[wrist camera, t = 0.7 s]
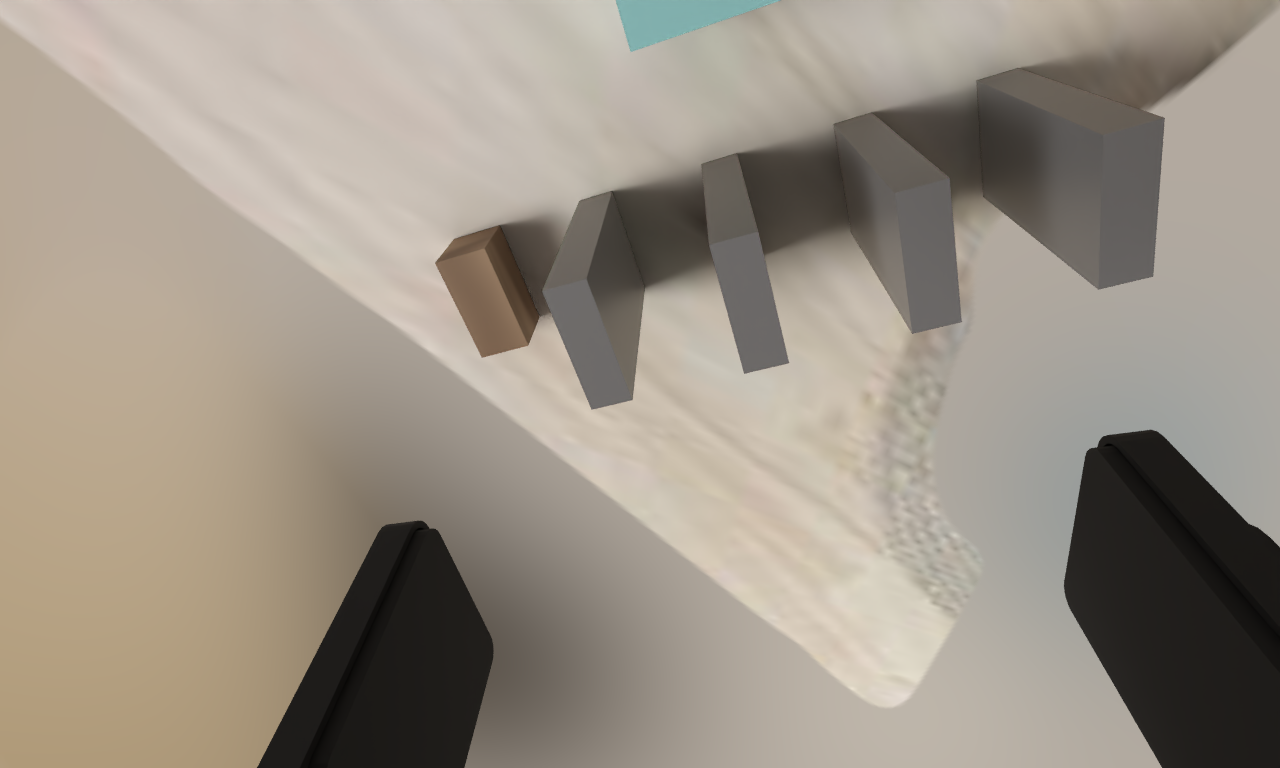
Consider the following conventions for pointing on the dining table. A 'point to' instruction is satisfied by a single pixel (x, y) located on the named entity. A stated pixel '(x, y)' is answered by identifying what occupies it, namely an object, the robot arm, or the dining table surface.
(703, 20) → the teal domino
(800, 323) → the dining table surface
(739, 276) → the domino
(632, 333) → the domino
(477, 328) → the end block
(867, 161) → the domino
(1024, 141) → the domino
